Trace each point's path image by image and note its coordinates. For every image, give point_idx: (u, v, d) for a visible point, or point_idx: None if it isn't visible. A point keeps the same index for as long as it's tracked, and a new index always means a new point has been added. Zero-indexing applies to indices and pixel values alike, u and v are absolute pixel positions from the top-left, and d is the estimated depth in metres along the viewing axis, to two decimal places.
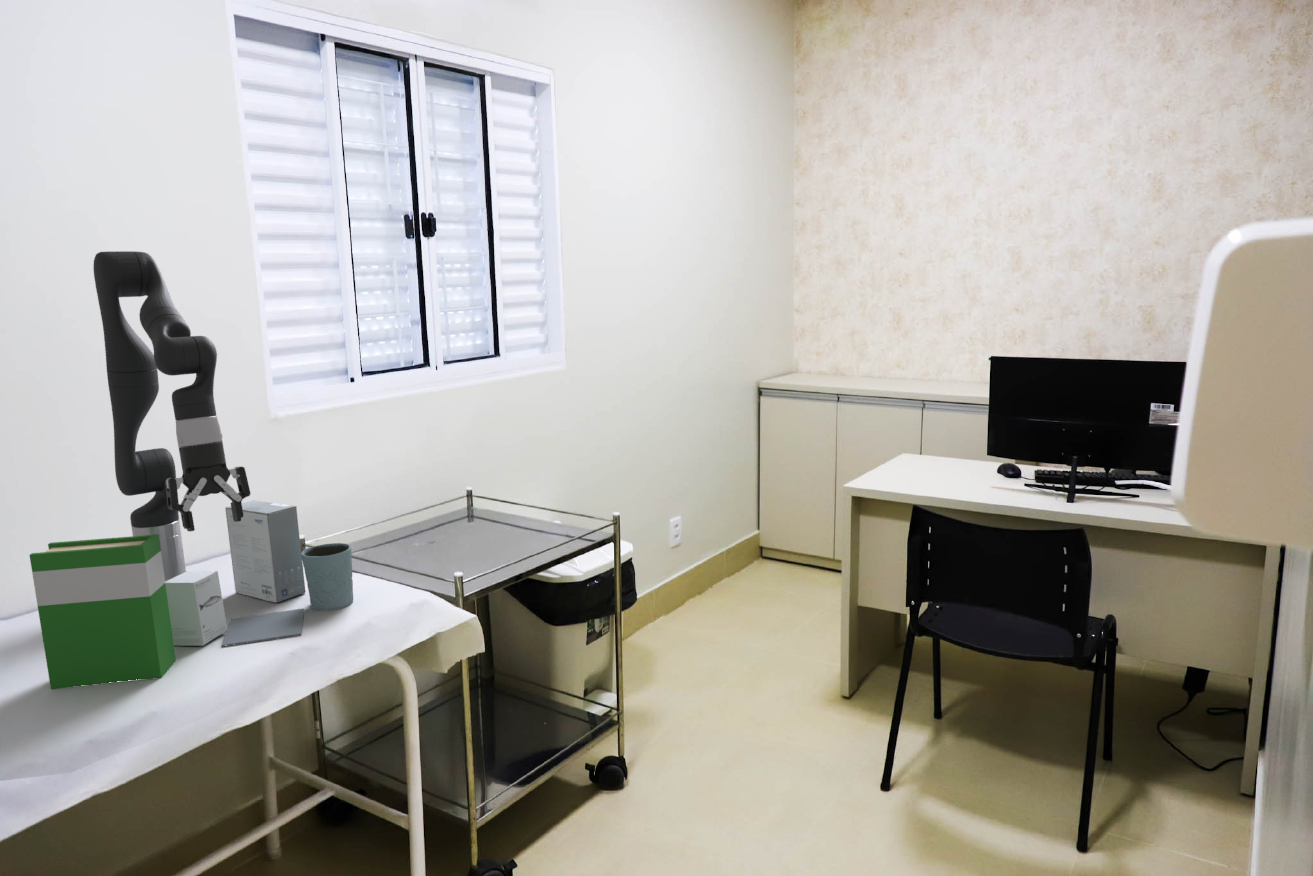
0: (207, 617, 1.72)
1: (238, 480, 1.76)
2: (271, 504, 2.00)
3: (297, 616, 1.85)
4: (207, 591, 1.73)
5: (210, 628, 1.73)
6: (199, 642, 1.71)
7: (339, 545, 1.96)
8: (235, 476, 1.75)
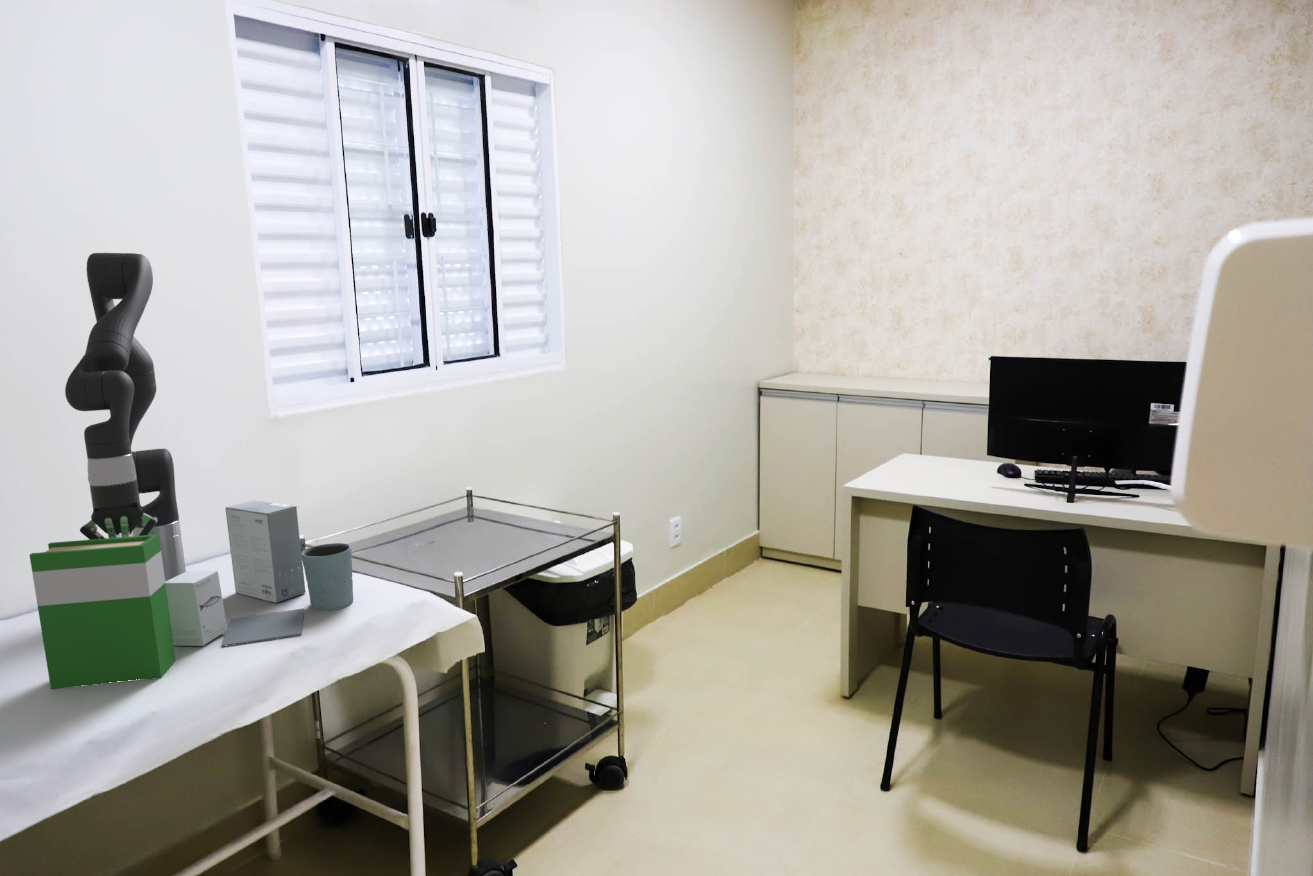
0: (207, 617, 1.72)
1: None
2: (271, 504, 2.00)
3: (297, 616, 1.85)
4: (207, 592, 1.73)
5: (210, 628, 1.73)
6: (199, 642, 1.71)
7: (339, 545, 1.96)
8: (143, 523, 1.69)
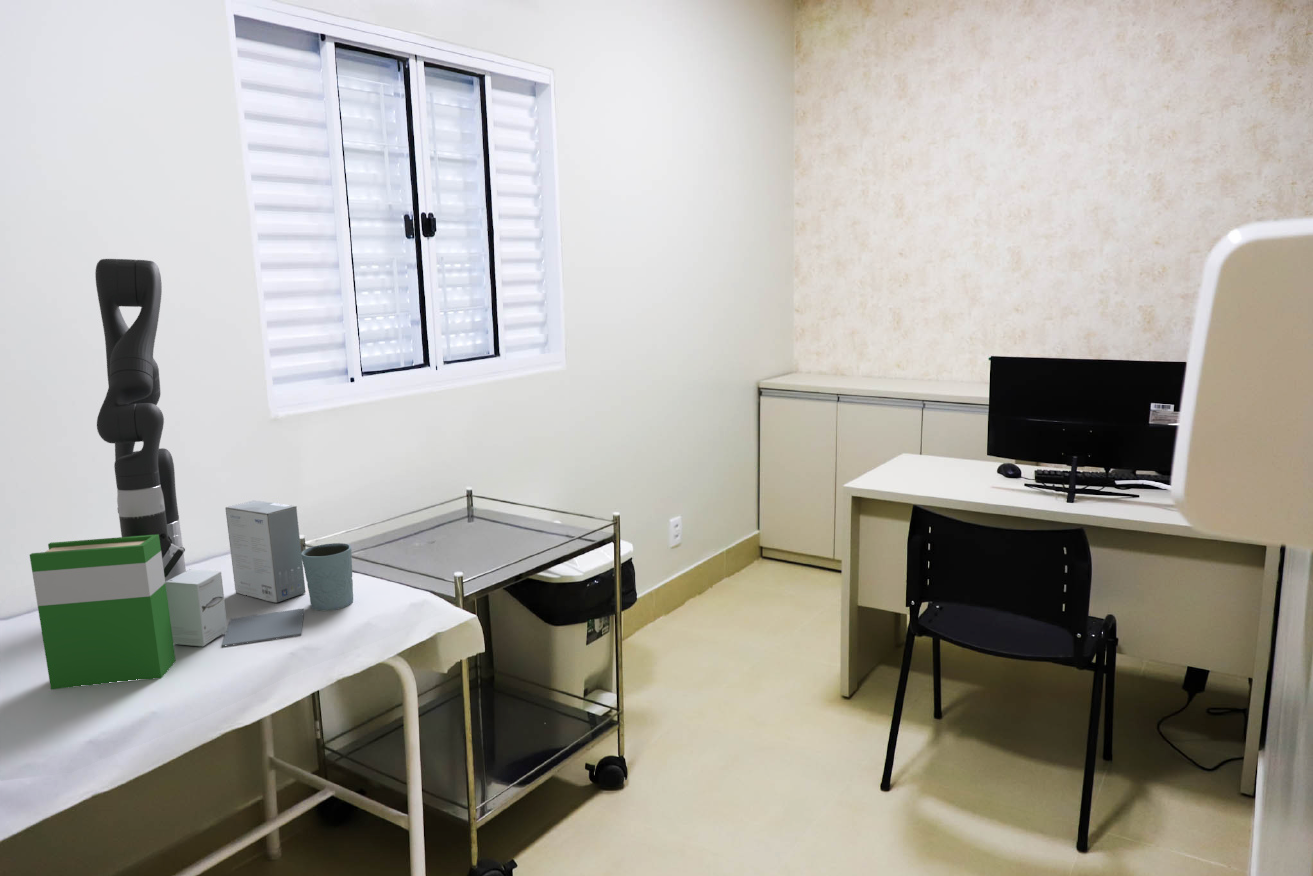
0: (209, 618, 1.72)
1: None
2: (271, 504, 2.00)
3: (297, 616, 1.85)
4: (210, 593, 1.72)
5: (211, 629, 1.73)
6: (199, 643, 1.71)
7: (339, 545, 1.96)
8: (170, 553, 1.70)
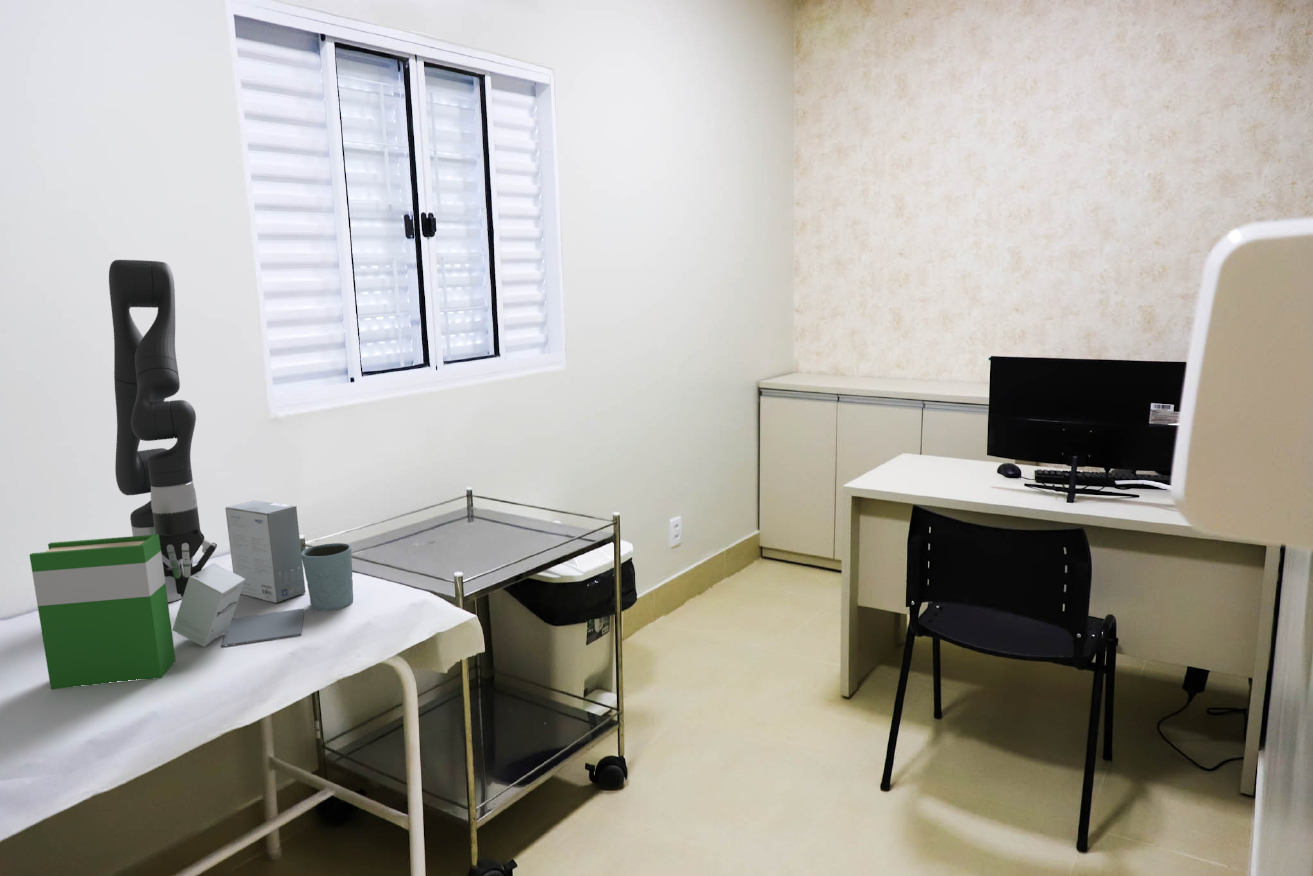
0: (218, 622, 1.72)
1: None
2: (271, 504, 2.00)
3: (297, 616, 1.85)
4: (229, 599, 1.72)
5: (216, 631, 1.73)
6: (201, 642, 1.71)
7: (339, 545, 1.96)
8: (203, 549, 1.72)
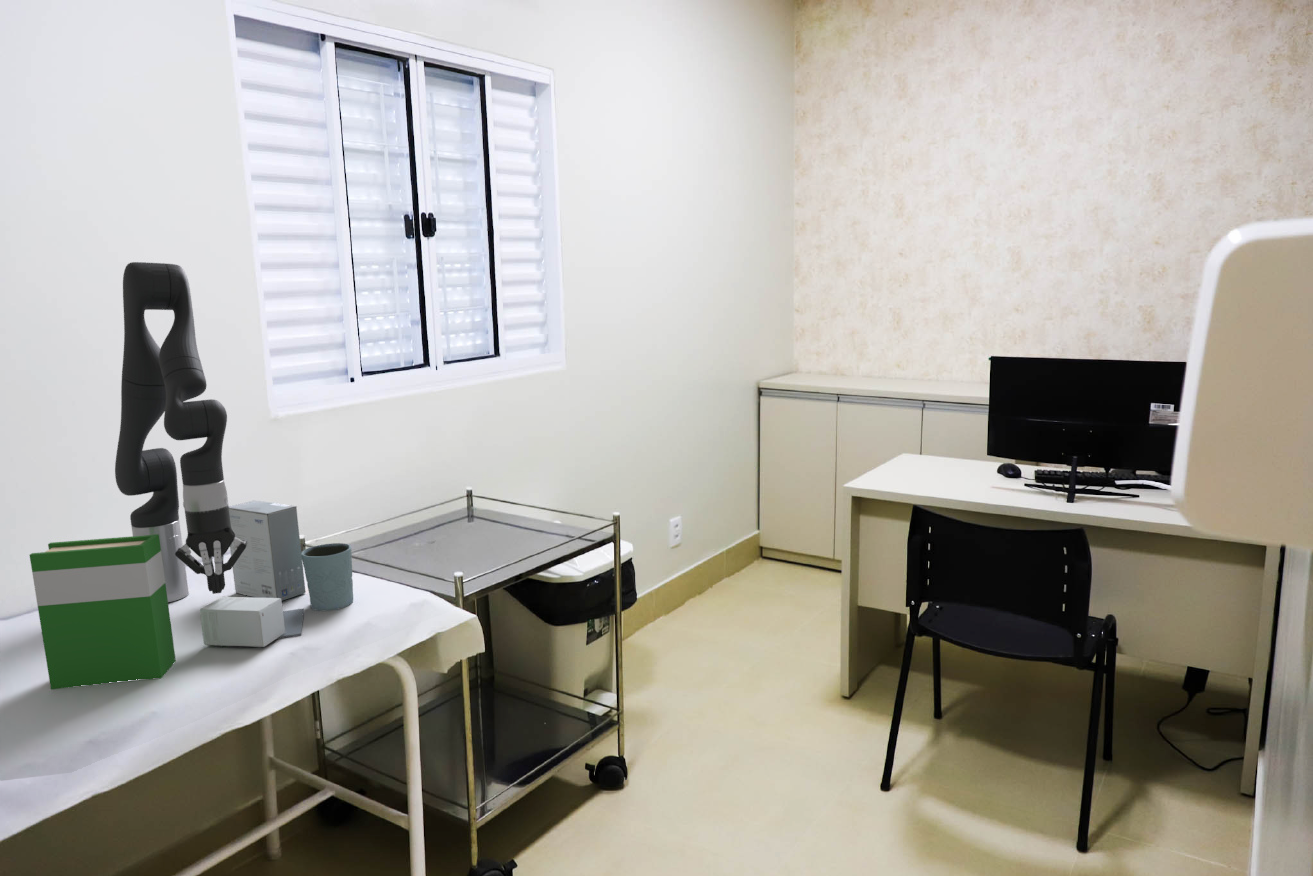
0: None
1: (234, 551, 1.75)
2: (271, 504, 2.00)
3: (297, 616, 1.85)
4: None
5: None
6: (206, 641, 1.71)
7: (339, 545, 1.96)
8: (234, 547, 1.74)
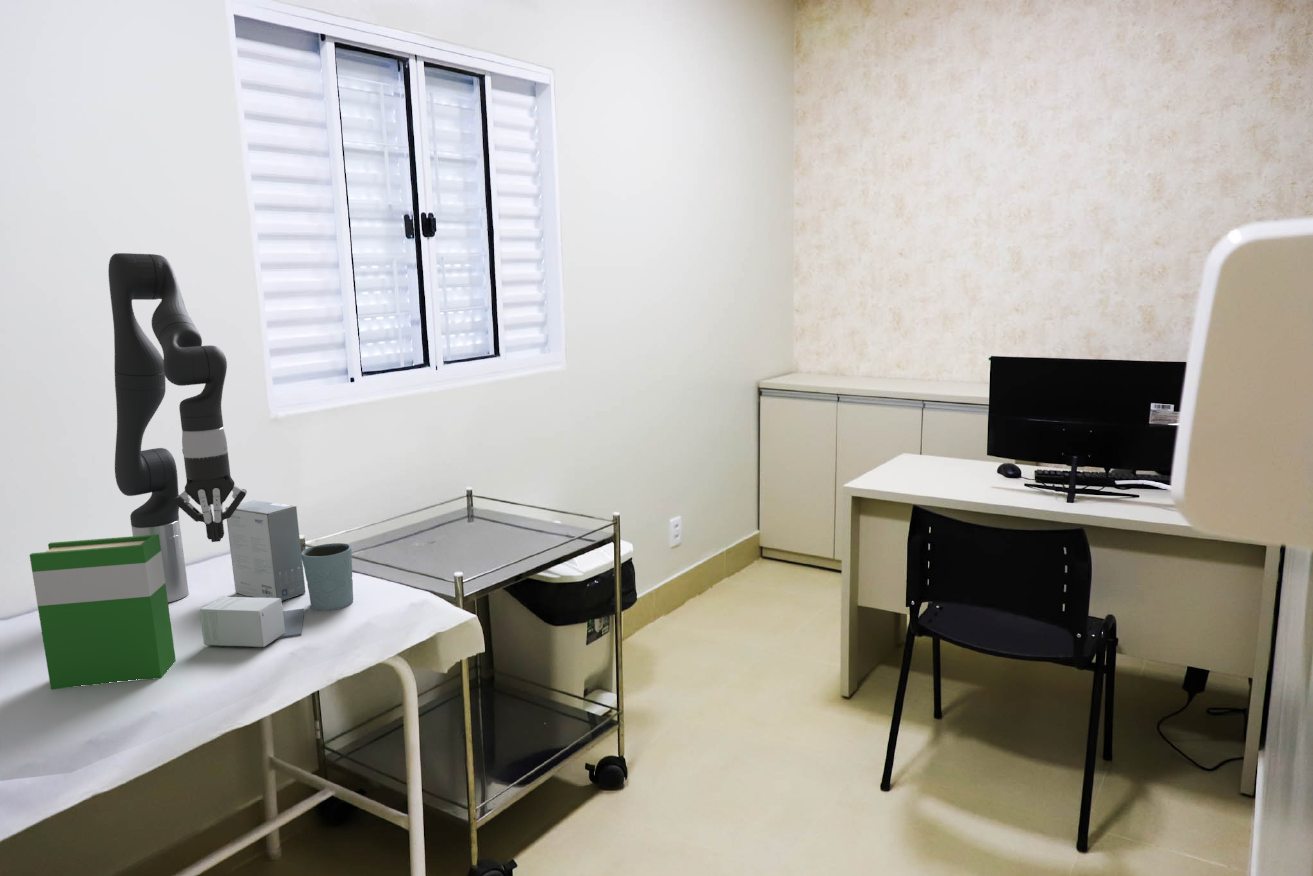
0: None
1: (233, 500, 1.74)
2: (271, 504, 2.00)
3: (297, 616, 1.85)
4: None
5: None
6: (206, 641, 1.71)
7: (339, 545, 1.96)
8: (233, 495, 1.73)
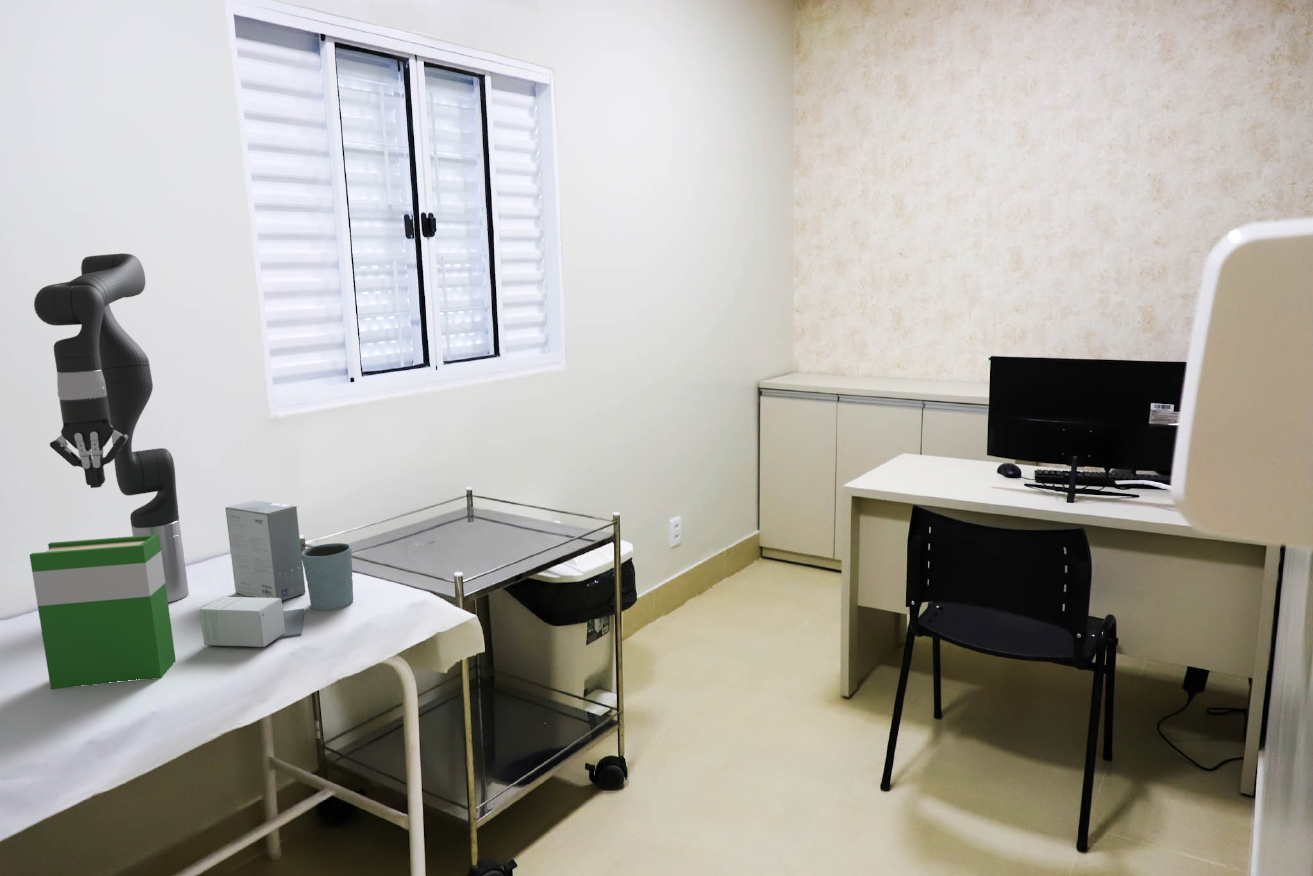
0: None
1: None
2: (271, 504, 2.00)
3: (297, 616, 1.85)
4: None
5: None
6: (206, 641, 1.71)
7: (339, 545, 1.96)
8: (113, 440, 1.70)
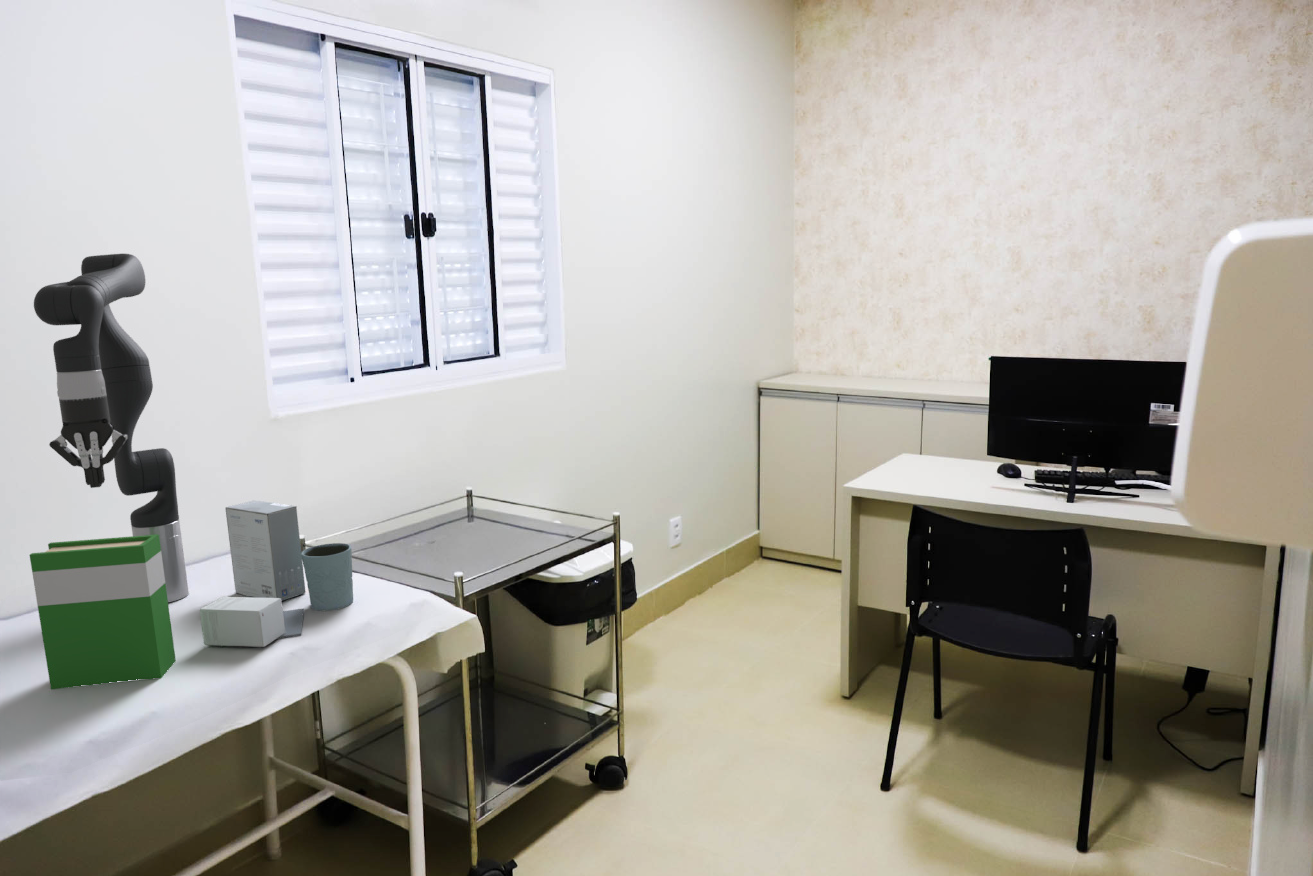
0: None
1: None
2: (271, 504, 2.00)
3: (297, 616, 1.85)
4: None
5: None
6: (206, 641, 1.71)
7: (339, 545, 1.96)
8: (113, 439, 1.69)
